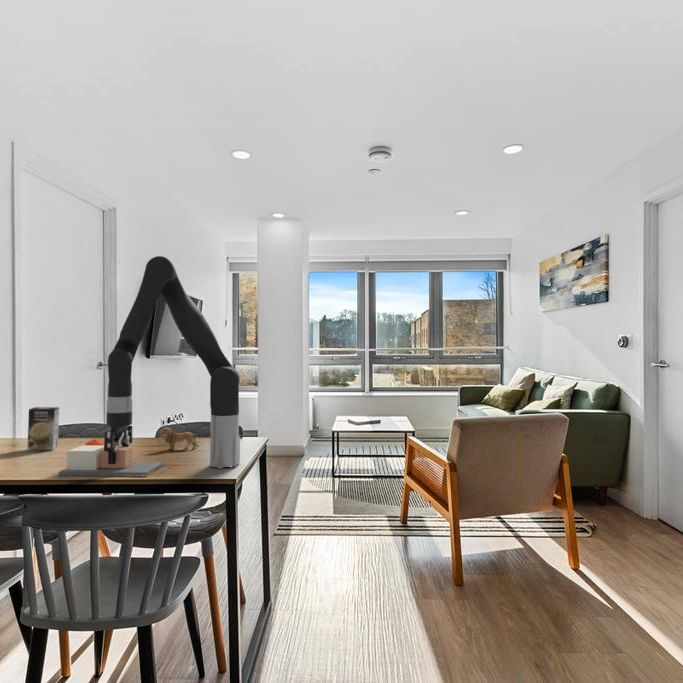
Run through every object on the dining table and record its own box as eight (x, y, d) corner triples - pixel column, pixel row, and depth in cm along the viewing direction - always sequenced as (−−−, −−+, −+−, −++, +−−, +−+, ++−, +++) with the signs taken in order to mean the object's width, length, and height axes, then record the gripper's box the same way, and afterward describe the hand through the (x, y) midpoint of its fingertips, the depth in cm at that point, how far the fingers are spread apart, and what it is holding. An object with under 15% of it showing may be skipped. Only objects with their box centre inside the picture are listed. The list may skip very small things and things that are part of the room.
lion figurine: (161, 452, 181) (161, 428, 181) (158, 450, 186) (159, 426, 186) (200, 449, 188) (200, 426, 189) (197, 446, 193) (197, 424, 193)
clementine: (91, 456, 173) (91, 436, 174) (110, 456, 173) (110, 436, 174) (78, 461, 165) (79, 440, 166) (98, 461, 165) (99, 441, 166)
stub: (132, 464, 156) (132, 447, 156) (125, 468, 151) (125, 450, 151) (107, 464, 156) (108, 446, 156) (99, 467, 151) (100, 449, 151)
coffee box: (26, 451, 180) (27, 409, 181) (32, 448, 187) (33, 407, 187) (53, 450, 183) (54, 408, 183) (58, 447, 189) (59, 406, 189)
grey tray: (163, 465, 160) (164, 444, 160) (146, 476, 146) (147, 453, 146) (83, 464, 160) (84, 443, 161) (58, 475, 146) (59, 452, 147)
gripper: (120, 413, 147) (119, 466, 146) (140, 408, 161) (139, 456, 161) (96, 413, 147) (95, 466, 146) (118, 407, 161) (117, 456, 161)
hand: (118, 461), depth 153 cm, fingers open, 8 cm apart
